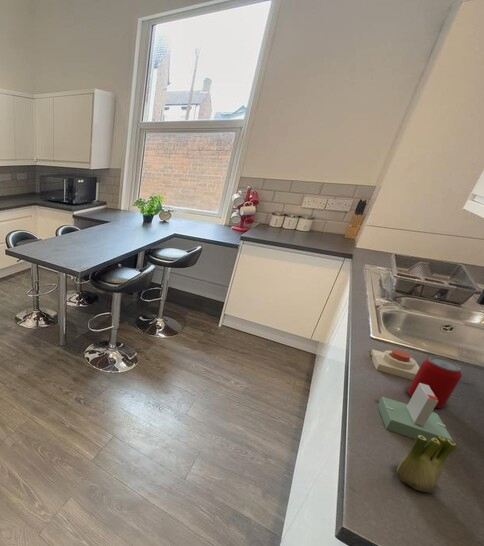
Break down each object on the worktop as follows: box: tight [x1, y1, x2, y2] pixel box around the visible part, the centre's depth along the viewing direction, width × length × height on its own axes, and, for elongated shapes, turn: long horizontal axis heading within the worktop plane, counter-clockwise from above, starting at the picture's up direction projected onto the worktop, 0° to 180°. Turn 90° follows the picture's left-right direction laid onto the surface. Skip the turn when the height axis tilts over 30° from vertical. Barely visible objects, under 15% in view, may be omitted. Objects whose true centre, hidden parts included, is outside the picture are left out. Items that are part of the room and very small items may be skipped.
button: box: [390, 349, 412, 362], centre depth 93 cm, size 4×4×2 cm
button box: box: [369, 349, 420, 381], centre depth 94 cm, size 10×9×4 cm
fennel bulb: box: [396, 435, 458, 493], centre depth 59 cm, size 6×5×12 cm
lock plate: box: [377, 396, 454, 444], centre depth 74 cm, size 10×9×3 cm
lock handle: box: [407, 383, 438, 426], centre depth 72 cm, size 6×2×8 cm, turn 147°
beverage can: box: [407, 356, 463, 409], centre depth 80 cm, size 7×7×12 cm
